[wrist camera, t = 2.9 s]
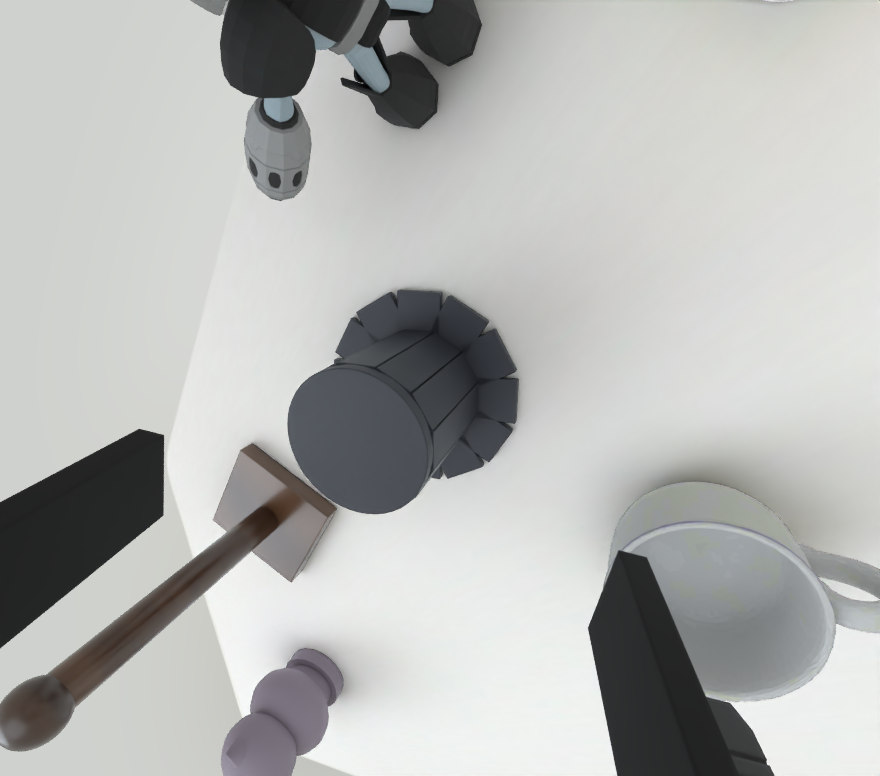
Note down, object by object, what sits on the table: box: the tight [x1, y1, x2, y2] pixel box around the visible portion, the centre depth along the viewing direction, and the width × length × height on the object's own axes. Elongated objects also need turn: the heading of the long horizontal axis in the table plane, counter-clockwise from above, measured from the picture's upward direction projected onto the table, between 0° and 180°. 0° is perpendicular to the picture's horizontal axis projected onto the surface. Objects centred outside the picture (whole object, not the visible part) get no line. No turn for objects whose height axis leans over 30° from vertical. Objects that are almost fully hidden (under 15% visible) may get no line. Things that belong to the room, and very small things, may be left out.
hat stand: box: [0, 444, 337, 751], centre depth 36 cm, size 10×10×23 cm
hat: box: [288, 290, 519, 514], centre depth 31 cm, size 14×14×10 cm
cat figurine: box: [221, 649, 343, 776], centre depth 46 cm, size 8×8×12 cm
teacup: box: [603, 482, 880, 702], centre depth 28 cm, size 14×11×8 cm
